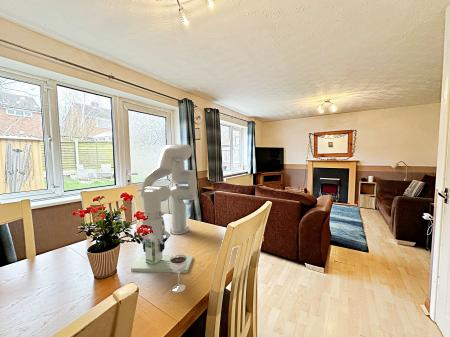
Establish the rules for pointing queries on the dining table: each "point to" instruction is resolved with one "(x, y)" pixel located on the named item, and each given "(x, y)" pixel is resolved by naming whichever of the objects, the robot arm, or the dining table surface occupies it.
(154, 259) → the syrup box
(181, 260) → the wineglass
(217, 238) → the dining table surface
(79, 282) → the dining table surface
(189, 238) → the dining table surface
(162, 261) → the board
